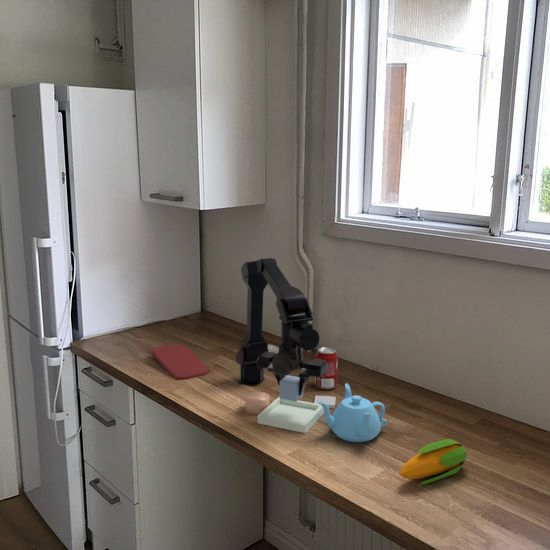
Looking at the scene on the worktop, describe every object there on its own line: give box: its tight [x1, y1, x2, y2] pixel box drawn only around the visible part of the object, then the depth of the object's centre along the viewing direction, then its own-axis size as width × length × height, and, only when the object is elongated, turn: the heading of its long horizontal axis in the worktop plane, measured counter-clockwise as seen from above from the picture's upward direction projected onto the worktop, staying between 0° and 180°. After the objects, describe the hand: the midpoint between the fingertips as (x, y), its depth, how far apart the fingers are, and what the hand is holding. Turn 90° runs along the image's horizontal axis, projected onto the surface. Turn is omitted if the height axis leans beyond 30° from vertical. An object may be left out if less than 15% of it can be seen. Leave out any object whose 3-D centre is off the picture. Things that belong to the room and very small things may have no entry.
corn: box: [399, 438, 468, 486], centre depth 142 cm, size 7×8×20 cm
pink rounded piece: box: [244, 391, 271, 416], centre depth 177 cm, size 7×7×4 cm
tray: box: [257, 396, 324, 434], centre depth 172 cm, size 14×14×2 cm
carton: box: [151, 343, 211, 381], centre depth 212 cm, size 12×5×25 cm
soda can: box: [314, 346, 339, 391], centre depth 193 cm, size 7×7×12 cm
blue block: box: [278, 374, 304, 402], centre depth 171 cm, size 5×5×5 cm
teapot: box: [318, 382, 387, 443], centre depth 162 cm, size 15×15×10 cm
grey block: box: [313, 395, 337, 409], centre depth 182 cm, size 6×6×2 cm
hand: (291, 393), depth 171 cm, fingers closed on blue block, 5 cm apart
